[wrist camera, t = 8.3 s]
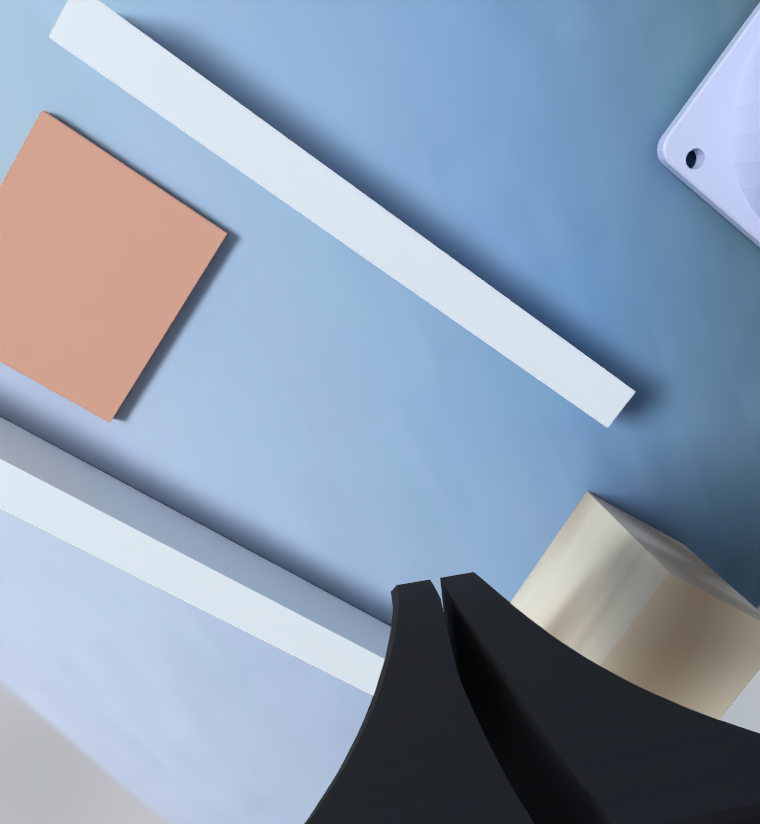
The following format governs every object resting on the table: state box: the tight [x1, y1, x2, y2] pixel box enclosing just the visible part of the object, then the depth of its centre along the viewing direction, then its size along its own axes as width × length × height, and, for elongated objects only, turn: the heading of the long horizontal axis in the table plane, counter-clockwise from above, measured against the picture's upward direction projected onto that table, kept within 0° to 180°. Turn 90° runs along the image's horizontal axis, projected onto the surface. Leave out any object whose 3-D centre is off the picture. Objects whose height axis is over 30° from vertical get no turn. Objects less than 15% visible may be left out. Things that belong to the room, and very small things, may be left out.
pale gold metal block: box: [510, 491, 760, 720], centre depth 20 cm, size 4×5×5 cm
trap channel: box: [0, 0, 635, 695], centre depth 18 cm, size 16×11×2 cm
